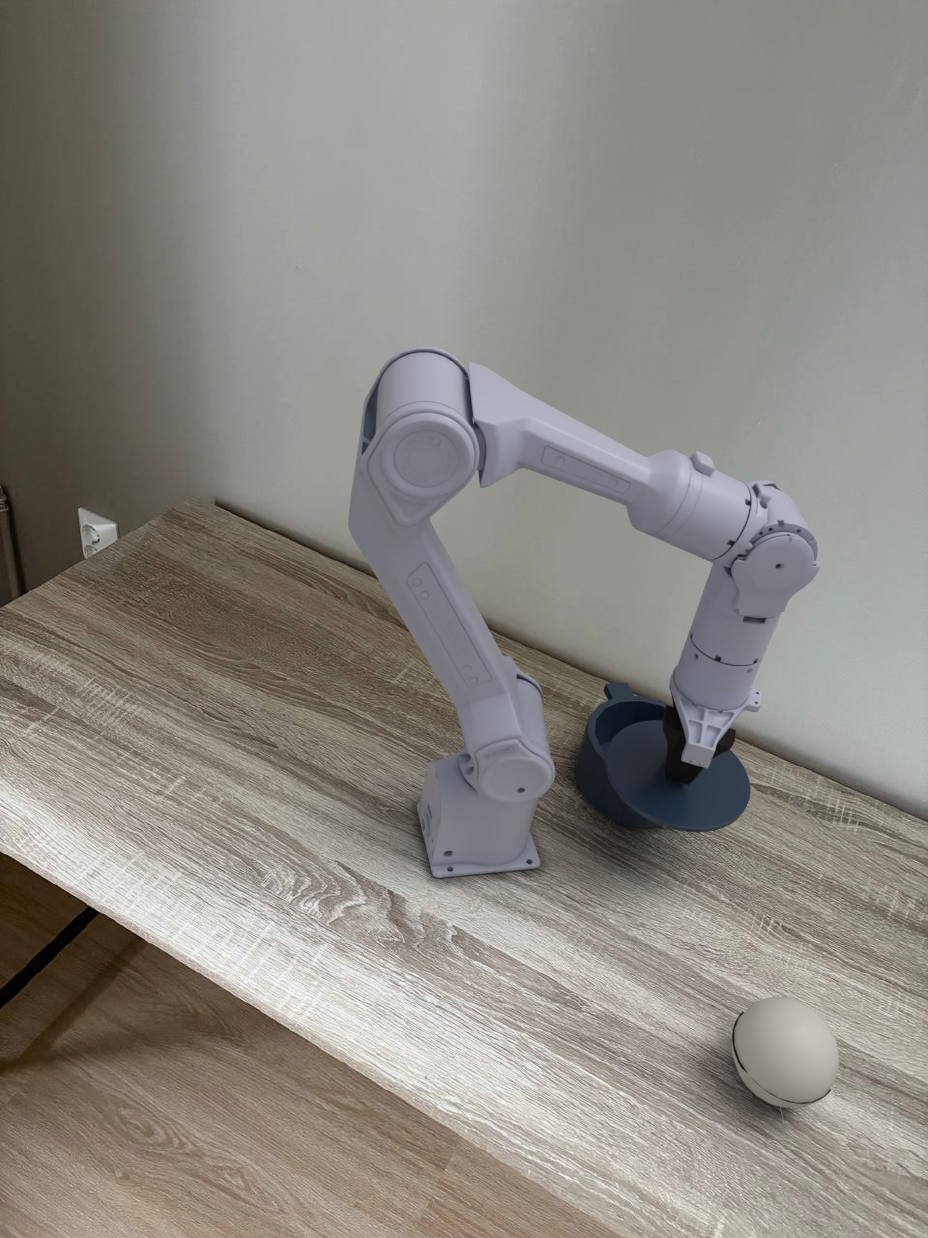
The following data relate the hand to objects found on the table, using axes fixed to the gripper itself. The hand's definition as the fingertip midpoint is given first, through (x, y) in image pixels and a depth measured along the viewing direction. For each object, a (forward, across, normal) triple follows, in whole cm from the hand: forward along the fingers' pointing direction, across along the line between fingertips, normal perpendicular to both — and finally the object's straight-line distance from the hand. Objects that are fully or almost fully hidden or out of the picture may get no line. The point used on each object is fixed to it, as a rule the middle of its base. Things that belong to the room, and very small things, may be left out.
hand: (679, 766), depth 82 cm
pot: (+10, +7, +3) cm, 13 cm away
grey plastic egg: (+11, -19, -11) cm, 25 cm away
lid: (+1, 0, 0) cm, 1 cm away
